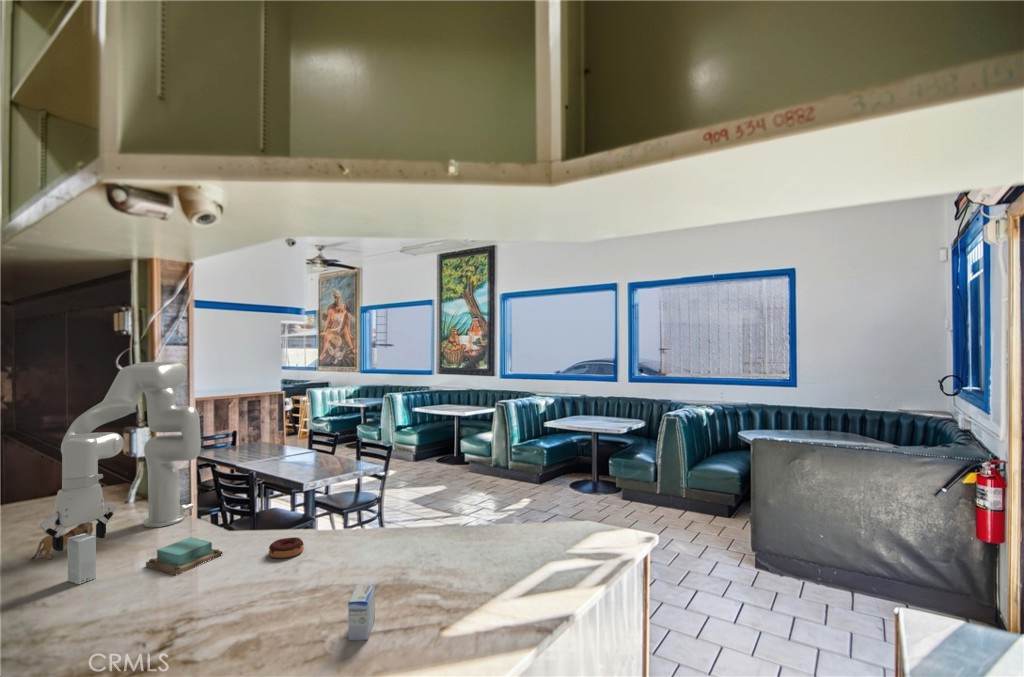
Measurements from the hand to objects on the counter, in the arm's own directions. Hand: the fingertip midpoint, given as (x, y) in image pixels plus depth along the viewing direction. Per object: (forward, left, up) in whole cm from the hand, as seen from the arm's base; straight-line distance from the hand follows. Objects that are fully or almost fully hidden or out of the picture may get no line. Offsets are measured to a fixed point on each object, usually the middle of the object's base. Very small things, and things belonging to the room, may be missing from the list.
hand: (80, 543), depth 138 cm
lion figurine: (-8, -26, -11) cm, 29 cm away
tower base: (-19, +15, -10) cm, 26 cm away
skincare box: (0, 0, -11) cm, 11 cm away
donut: (-36, +39, -11) cm, 54 cm away
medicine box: (-12, +89, -11) cm, 90 cm away
